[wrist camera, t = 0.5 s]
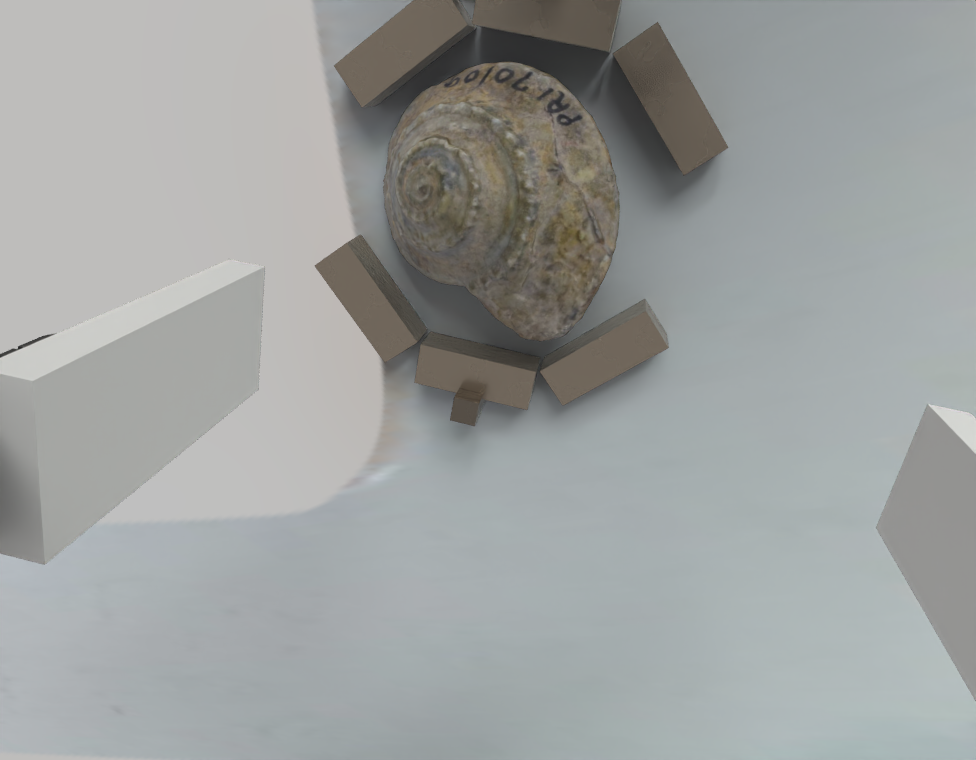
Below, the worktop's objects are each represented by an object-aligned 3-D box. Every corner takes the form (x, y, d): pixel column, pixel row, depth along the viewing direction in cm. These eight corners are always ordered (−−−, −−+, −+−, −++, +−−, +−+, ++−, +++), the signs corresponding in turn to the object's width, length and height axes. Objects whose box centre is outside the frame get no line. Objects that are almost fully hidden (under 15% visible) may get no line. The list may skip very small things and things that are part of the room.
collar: (364, -75, 32) (337, -90, 29) (764, 1, 30) (779, -7, 28) (319, 359, 40) (294, 381, 37) (636, 436, 38) (636, 466, 35)
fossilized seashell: (566, 10, 30) (544, 86, 25) (664, 221, 36) (660, 315, 31) (358, 118, 35) (306, 199, 30) (473, 288, 41) (445, 379, 36)
